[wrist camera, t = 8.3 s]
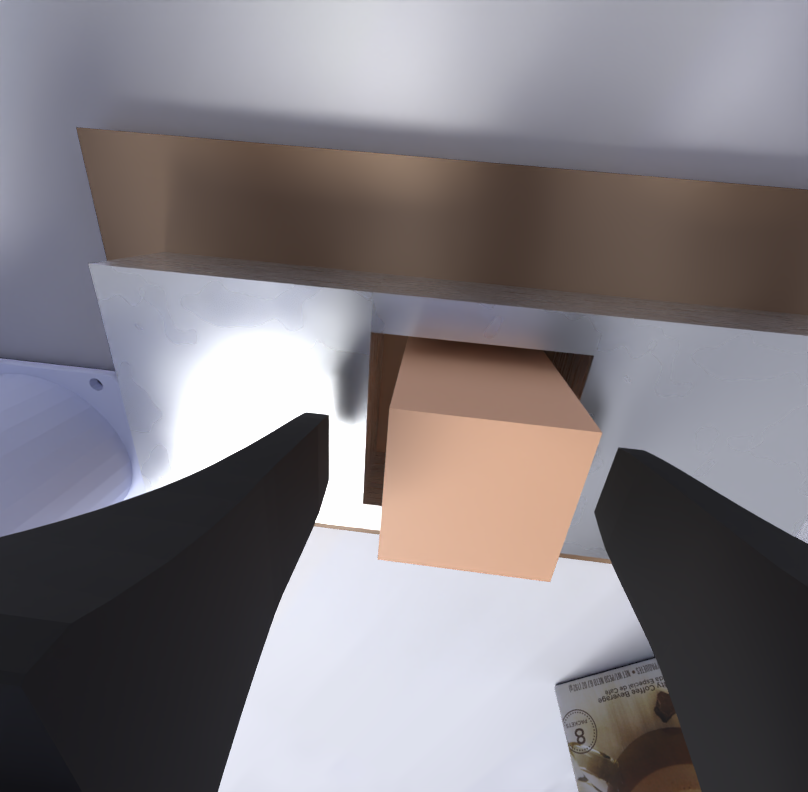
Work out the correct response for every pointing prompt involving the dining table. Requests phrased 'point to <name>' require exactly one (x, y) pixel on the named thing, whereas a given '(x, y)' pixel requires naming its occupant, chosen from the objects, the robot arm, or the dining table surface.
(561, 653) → the dining table surface
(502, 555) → the peg
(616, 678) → the coffee box
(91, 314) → the dining table surface
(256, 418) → the white square hole block
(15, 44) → the dining table surface
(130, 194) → the board
